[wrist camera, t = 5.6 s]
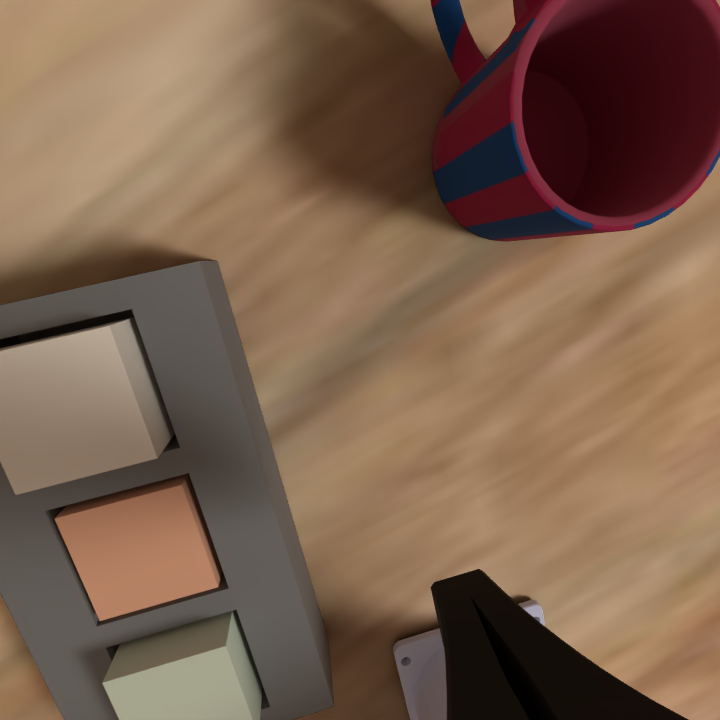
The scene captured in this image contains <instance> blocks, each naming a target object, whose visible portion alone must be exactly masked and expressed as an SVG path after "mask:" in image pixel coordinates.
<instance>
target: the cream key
mask: <svg viewBox="0 0 720 720" xmlns="http://www.w3.org/2000/svg"><path fill="white" fill-rule="evenodd" d="M174 434H175V432H174V429H173V426H172V423H171V420H170V418H169V415H168V412H167V409H166V406H165V403H164V400H163V397H162V395H161V392H160V389H159V386H158V383H157V380H156V377H155V374H154V372H153V369H152V366H151V363H150V360H149V357H148V354H147V351H146V349H145V346H144V343H143V340H142V337H141V334H140V331H139V329H138V326H137V323H136V320H135V317H132V318H128V319H124V320H119V321H115V322H111V323H106V324H102V325H98V326H93V327H89V328H85V329H80V330H76V331H72V332H67V333H63V334H59V335H54V336H50V337H46V338H41V339H37V340H33V341H28V342H24V343H20V344H15V345H11V346H7V347H2V348H0V462H1V464H2V467H3V469H4V471H5V473H6V475H7V477H8V480H9V482H10V484H11V486H12V488H13V490H14V493H15V495H18V494H22V493H26V492H30V491H33V490H37V489H41V488H45V487H49V486H53V485H57V484H61V483H64V482H68V481H72V480H76V479H80V478H84V477H88V476H91V475H95V474H99V473H103V472H107V471H111V470H115V469H118V468H122V467H126V466H130V465H134V464H138V463H142V462H145V461H149V460H153V459H157V458H158V457H159V456H160V454H161V453H162V451H163V450H164V448H165V447H166V446H167V444H168V443H169V441H170V440H171V438H172V437H173V436H174Z"/></svg>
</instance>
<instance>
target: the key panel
mask: <svg viewBox="0 0 720 720" xmlns="http://www.w3.org/2000/svg"><path fill="white" fill-rule="evenodd" d="M132 317H135V320H136V323H137V326H138V329H139V331H140V334H141V337H142V340H143V343H144V346H145V349H146V351H147V354H148V357H149V360H150V363H151V366H152V369H153V372H154V374H155V377H156V380H157V383H158V386H159V389H160V392H161V395H162V397H163V400H164V403H165V406H166V409H167V412H168V415H169V418H170V420H171V423H172V426H173V429H174V432H175V434H174V436H173V437H172V438H171V440H170V441H169V443H168V444H167V446H166V447H165V448H164V450H163V451H162V453H161V454H160V456H159V457H158V458H157V459H153V460H149V461H145V462H142V463H138V464H134V465H130V466H126V467H122V468H118V469H115V470H111V471H107V472H103V473H99V474H95V475H91V476H88V477H84V478H80V479H76V480H72V481H68V482H64V483H61V484H57V485H53V486H49V487H45V488H41V489H37V490H33V491H30V492H26V493H22V494H18V495H15V493H14V490H13V488H12V486H11V484H10V482H9V480H8V477H7V475H6V473H5V471H4V469H3V467H2V464H1V462H0V593H1V595H2V597H3V599H4V601H5V603H6V605H7V607H8V609H9V611H10V613H11V615H12V617H13V619H14V621H15V623H16V625H17V627H18V629H19V631H20V633H21V635H22V637H23V639H24V641H25V643H26V645H27V647H28V649H29V651H30V653H31V655H32V657H33V659H34V661H35V663H36V665H37V667H38V669H39V671H40V673H41V675H42V677H43V679H44V681H45V683H46V685H47V687H48V689H49V691H50V693H51V695H52V697H53V699H54V701H55V703H56V705H57V707H58V709H59V711H60V713H61V715H62V717H63V719H64V720H119V718H118V716H117V714H116V712H115V710H114V707H113V705H112V703H111V701H110V699H109V697H108V694H107V692H106V690H105V688H104V686H103V684H102V682H103V680H104V678H105V676H106V674H107V671H108V669H109V667H110V665H111V663H112V661H113V658H114V656H115V654H116V652H117V650H118V647H119V645H120V643H124V642H127V641H131V640H134V639H138V638H141V637H144V636H148V635H151V634H155V633H158V632H162V631H165V630H168V629H172V628H175V627H179V626H182V625H185V624H189V623H192V622H196V621H199V620H203V619H206V618H209V617H213V616H216V615H220V614H223V613H226V612H230V611H233V610H237V613H238V616H239V619H240V621H241V624H242V627H243V630H244V633H245V636H246V639H247V642H248V644H249V647H250V650H251V653H252V656H253V659H254V662H255V665H256V667H257V670H258V673H259V676H260V679H261V682H262V685H263V688H262V701H261V713H260V720H294V719H297V718H300V717H303V716H306V715H310V714H313V713H316V712H319V711H322V710H325V709H328V708H332V707H334V699H333V687H332V676H331V664H330V652H329V641H328V637H327V634H326V631H325V627H324V624H323V620H322V617H321V613H320V610H319V607H318V603H317V600H316V596H315V593H314V590H313V586H312V583H311V579H310V576H309V572H308V569H307V566H306V562H305V559H304V555H303V552H302V548H301V545H300V542H299V538H298V535H297V531H296V528H295V525H294V521H293V518H292V514H291V511H290V507H289V504H288V501H287V497H286V494H285V490H284V487H283V484H282V480H281V477H280V473H279V470H278V466H277V463H276V460H275V456H274V453H273V449H272V446H271V442H270V439H269V436H268V432H267V429H266V425H265V422H264V419H263V415H262V412H261V408H260V405H259V401H258V398H257V395H256V391H255V388H254V384H253V381H252V378H251V374H250V371H249V367H248V364H247V360H246V357H245V354H244V350H243V347H242V343H241V340H240V337H239V333H238V330H237V326H236V323H235V319H234V316H233V313H232V309H231V306H230V302H229V299H228V295H227V292H226V289H225V285H224V282H223V278H222V275H221V272H220V268H219V265H218V261H197V262H193V263H188V264H184V265H179V266H175V267H170V268H166V269H161V270H157V271H152V272H148V273H143V274H139V275H134V276H130V277H125V278H121V279H116V280H112V281H107V282H103V283H98V284H94V285H89V286H85V287H80V288H76V289H71V290H67V291H62V292H58V293H53V294H49V295H45V296H40V297H36V298H31V299H27V300H22V301H18V302H13V303H9V304H4V305H0V348H2V347H7V346H11V345H15V344H20V343H24V342H28V341H33V340H37V339H41V338H46V337H50V336H54V335H59V334H63V333H67V332H72V331H76V330H80V329H85V328H89V327H93V326H98V325H102V324H106V323H111V322H115V321H119V320H124V319H128V318H132ZM187 473H189V475H190V478H191V481H192V484H193V486H194V489H195V492H196V495H197V498H198V501H199V504H200V507H201V509H202V512H203V515H204V518H205V521H206V524H207V527H208V530H209V532H210V535H211V538H212V541H213V544H214V547H215V550H216V553H217V555H218V558H219V561H220V564H221V567H222V574H221V578H220V582H219V586H218V587H217V588H214V589H210V590H207V591H203V592H200V593H196V594H193V595H189V596H186V597H182V598H179V599H175V600H172V601H168V602H165V603H161V604H158V605H154V606H151V607H147V608H144V609H140V610H137V611H133V612H130V613H127V614H123V615H120V616H116V617H113V618H109V619H106V620H102V621H100V620H99V618H98V616H97V614H96V611H95V609H94V607H93V605H92V602H91V600H90V598H89V596H88V593H87V591H86V589H85V587H84V584H83V582H82V580H81V577H80V575H79V573H78V571H77V568H76V566H75V564H74V562H73V559H72V557H71V555H70V553H69V550H68V548H67V546H66V544H65V541H64V539H63V537H62V535H61V532H60V530H59V528H58V526H57V523H56V521H55V518H56V516H57V515H58V514H59V513H60V512H61V511H62V510H63V509H64V508H65V507H66V506H67V505H70V504H73V503H77V502H81V501H85V500H89V499H92V498H96V497H100V496H104V495H108V494H111V493H115V492H119V491H123V490H127V489H130V488H134V487H138V486H142V485H146V484H149V483H153V482H157V481H161V480H165V479H168V478H172V477H176V476H180V475H183V474H187Z"/></svg>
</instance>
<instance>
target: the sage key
mask: <svg viewBox="0 0 720 720" xmlns="http://www.w3.org/2000/svg"><path fill="white" fill-rule="evenodd" d="M102 684H103V686H104V688H105V690H106V692H107V694H108V697H109V699H110V701H111V703H112V705H113V707H114V710H115V712H116V714H117V716H118V718H119V720H260V713H261V701H262V688H263V685H262V682H261V679H260V676H259V673H258V670H257V667H256V665H255V662H254V659H253V656H252V653H251V650H250V647H249V644H248V642H247V639H246V636H245V633H244V630H243V627H242V624H241V621H240V619H239V616H238V613H237V610H233V611H230V612H226V613H223V614H220V615H216V616H213V617H209V618H206V619H203V620H199V621H196V622H192V623H189V624H185V625H182V626H179V627H175V628H172V629H168V630H165V631H162V632H158V633H155V634H151V635H148V636H144V637H141V638H138V639H134V640H131V641H127V642H124V643H120V645H119V647H118V650H117V652H116V654H115V656H114V658H113V661H112V663H111V665H110V667H109V669H108V671H107V674H106V676H105V678H104V680H103V682H102Z"/></svg>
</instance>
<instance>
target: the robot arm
mask: <svg viewBox="0 0 720 720" xmlns="http://www.w3.org/2000/svg"><path fill="white" fill-rule="evenodd" d="M431 591H432V596H433V600H434V605H435V609H436V614H437V619H438V623H439V628H438V629H435V630H432V631H428V632H425V633H422V634H419V635H415V636H412V637H409V638H406V639H403V640H400V641H398V642H396V643H395V644H394V647H393V653H394V657H395V661H396V665H397V669H398V673H399V677H400V681H401V685H402V689H403V693H404V697H405V701H406V705H407V709H408V713H409V717H410V720H688V719H686V718H684V717H683V716H681V715H679V714H677V713H675V712H673V711H671V710H670V709H668V708H666V707H664V706H662V705H660V704H659V703H657V702H655V701H653V700H652V699H650V698H648V697H647V696H645V695H643V694H642V693H640V692H638V691H637V690H635V689H633V688H632V687H630V686H628V685H627V684H625V683H624V682H622V681H620V680H619V679H617V678H616V677H614V676H613V675H611V674H610V673H608V672H606V671H605V670H603V669H602V668H600V667H599V666H598V665H596V664H595V663H593V662H592V661H590V660H589V659H587V658H586V657H585V656H583V655H582V654H580V653H579V652H578V651H576V650H575V649H574V648H572V647H571V646H570V645H568V644H567V643H565V642H564V641H563V640H561V639H560V638H559V637H558V636H556V635H555V634H554V633H552V632H551V631H550V630H549V629H547V628H546V627H545V622H544V615H543V609H542V607H541V605H540V604H539V603H538V602H537V601H535V600H529V601H526V602H523V603H519V604H517V603H516V602H515V601H514V600H513V599H512V598H511V597H510V596H508V595H507V594H506V593H505V592H504V591H503V590H502V589H501V588H500V587H499V586H498V585H497V584H496V583H495V582H493V581H492V580H491V579H490V578H489V577H488V576H487V575H486V574H485V573H484V572H483V571H482V570H480V569H477V570H474V571H470V572H467V573H464V574H460V575H457V576H454V577H450V578H447V579H444V580H440V581H437V582H434V583H433V585H432V586H431ZM534 617H535V618H534ZM405 657H408V658H406V659H403V658H405Z"/></svg>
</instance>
